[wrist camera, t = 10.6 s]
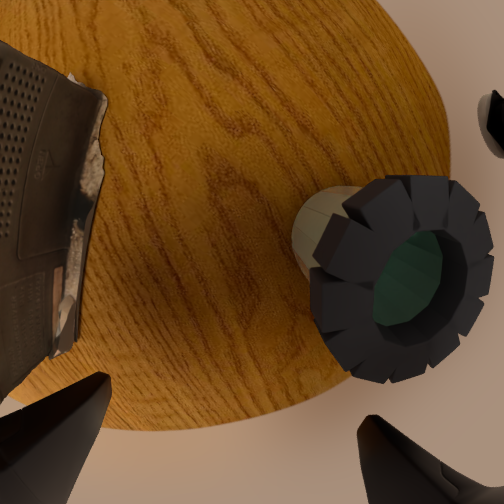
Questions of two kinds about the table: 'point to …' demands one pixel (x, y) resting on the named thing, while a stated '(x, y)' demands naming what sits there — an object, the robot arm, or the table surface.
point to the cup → (396, 270)
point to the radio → (43, 208)
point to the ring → (374, 261)
